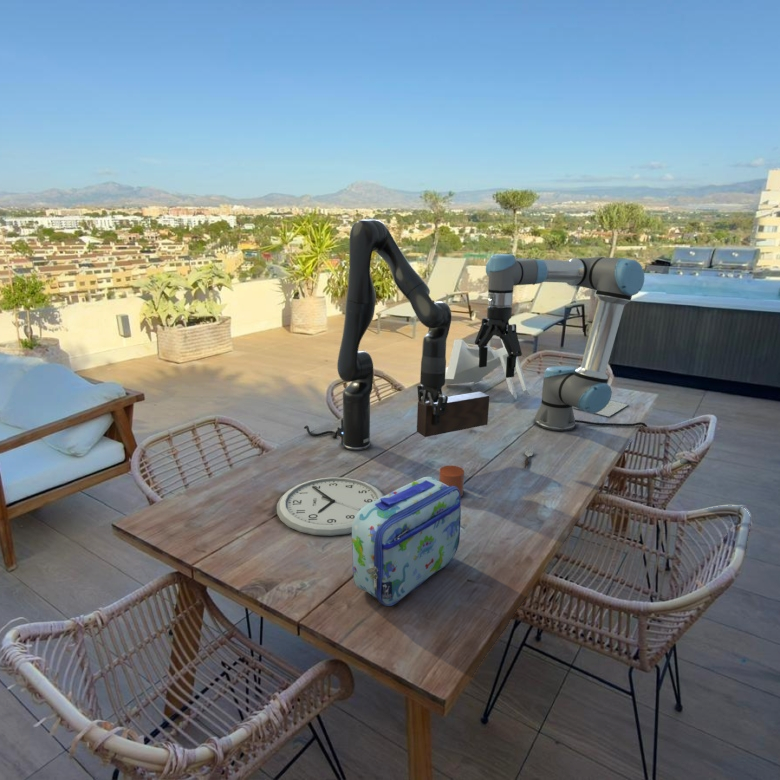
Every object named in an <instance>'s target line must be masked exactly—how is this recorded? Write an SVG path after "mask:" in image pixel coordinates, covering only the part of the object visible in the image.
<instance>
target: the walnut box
mask: <svg viewBox="0 0 780 780" xmlns="http://www.w3.org/2000/svg"><path fill="white" fill-rule="evenodd" d="M447 397H448V400H447V405H446V410H445V413H444V414H440V423H439V425H437V426H433V425H432V416H433V411H432V410H433V407H432V406H431V405H430V401H417V412H416V413H417V415H416V432H417V433H418V434H420V436H423V437H424V438H427V437H433V436H437V435H438V436H439V435H443V434H448V433H453V432H458V431H463V430H467V429H473V428H480V427H483V426H487V425H488V424H489V423H488V422H489V411H490V409H489V408H490V395H489V394H487V393H485V392H482V391H475V392H468V393H463V394H456V395H451V396H447ZM437 403H438V402H435V403H434V404H437ZM435 408H436V410H437V406H436V407H435ZM441 410H442V408H441Z"/></svg>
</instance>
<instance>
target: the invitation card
mask: <svg viewBox="0 0 780 780" xmlns="http://www.w3.org/2000/svg"><path fill="white" fill-rule="evenodd" d="M628 406H629V404H627V403H623V402H618V401H614V400H610V401H609V403H608V404H607V406H606V407H605V408H604V409H602V410H601V411H599V412H597V413H595V414H596V415H600V416H604V417H608V418H609V417H611V416H613V415H614V414H616V413H617V412H619V411H621V410H623V409H624V408H626V407H628ZM573 409H575V410H579V409H578V408H575V407H573Z"/></svg>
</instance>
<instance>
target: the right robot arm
mask: <svg viewBox="0 0 780 780" xmlns="http://www.w3.org/2000/svg"><path fill="white" fill-rule="evenodd" d="M485 274H486V276H487V277H488V283H487V285H488V287H487V290H488V291H487V305H488V306H487V307H486V317H484V318H482V319H481V324H480V328H479V330H478V332H477V335H476V338H475V339H474V344H475V345H476V346H478V347H479V367H480V368H481V367H487V351H488V348H487V347H486V346H487V344H489V343H490V341H491V340H492V338H493V337H494V336H496V337H499V339H500V340H501V339H502V341H503V343H504V346H505V348H506V350H507V353H508V355H509V356H508V357H507V363H506V377H505V379H506V378H509V377H511V378H515V369H516V357H518V358H519V357H521V356H522V355H523V353H522V349H521V344H520V341H519V337H518V331H517V324H516V323H513V324H510V322H509V321H510V319H512V315H513V313H512V312H513V307H512V305H513V301H514V300H513V299H514V286H526V285H527V286H528V285H529V286H530V285H532V286H535V285H539V284H542V283H565V284H567V285H569V286H573V287H582V288H585V289H589V290H594V291H595V298H596V300H597V304H596V308H595V311H594V316H593V319H592V323H591V327H590V330H589V334H588V338H587V341H586V345H585V349H584V352H583V357H582V361H581V363H580V367H578V368H577V367H574V366H566V365H565V366H564V365H559V366H558V365H557V366H550V367H547V368H546V369H545V370H544V375H543V381H542V392H541V402H540V405H539V407H538V410H537V411H536V413H535V417H534V424H535V425H536V426H537V427H539V428H542V429H544V430H549V431H556V432H567V431H572V430H574V429H575V428H576V423H577V424H586V425H592V426H606V427H607V426H612V427H613V426H614V427H635V426H643V427H644V428H648V425H647V424H646V423H644V422H642V421H641V422H640V421H639V422H635V423H621V422H620V423H617V422H615V423H614V422H594V421H587V420H579V419H576V418H575V417H576V416H575V413H574V409H576V408H578V409H577V410H579V411H581V412H586V413H588V414H596V413H597V412H599V411H601V410H602V409H604V408H605V407H606V406H607V404H608V403H609V401H611V399H612V393H613V392H612V388H611V386H610V385H609V384H608V382H609V378H610V377H609V375H608V374H607V368H608V366H609V361H610V358H611V355H612V351H613V347H614V343H615V340H616V336H617V333H618V331H619V330H618V329H619V326H620V322H621V319H622V315H623V312H624V308H625V306H626V305H627V304H629V303H630V302H631V300H632V297H633V296H636V295H638V294H639V293H640V291H642V289H643V287H644V283H645V271H644V269H643V266H642V264H641V263H640V262H639V261H637V260H635V259H630V258H627V257H626V258H623V257H608V256H607V257H606V256H595V257H583V258H578V257H573V258H571V259H569V260H562V259H561V260H560V259H539V258H520V257H519V258H518V257H516V256H515V254H511V253H500V254H499V253H496V254H492V255H491V256H490V258H489V259H488V261H486V265H485ZM502 341H501V342H502ZM574 407H575V408H574Z"/></svg>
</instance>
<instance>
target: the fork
mask: <svg viewBox="0 0 780 780" xmlns="http://www.w3.org/2000/svg"><path fill="white" fill-rule="evenodd" d="M534 448H535V446H534V445H531V447H530V448H528V447H526V448H525V452H524V455H525V456H526V458H525V460H524V469H527V466H528V464H529V461H530V457H532V456H534Z"/></svg>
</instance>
